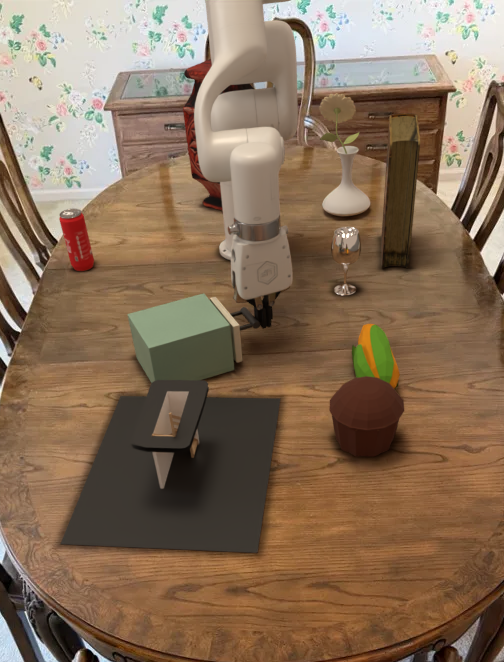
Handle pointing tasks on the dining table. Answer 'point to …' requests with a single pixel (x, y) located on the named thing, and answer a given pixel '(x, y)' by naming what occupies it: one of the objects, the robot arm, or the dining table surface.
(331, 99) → the flower in vase
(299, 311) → the dining table surface
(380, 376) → the corn
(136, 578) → the dining table surface
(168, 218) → the dining table surface
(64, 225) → the beverage can
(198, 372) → the cabinet
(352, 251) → the wineglass
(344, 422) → the muffin
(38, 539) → the dining table surface
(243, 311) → the drawer
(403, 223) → the book
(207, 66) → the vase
